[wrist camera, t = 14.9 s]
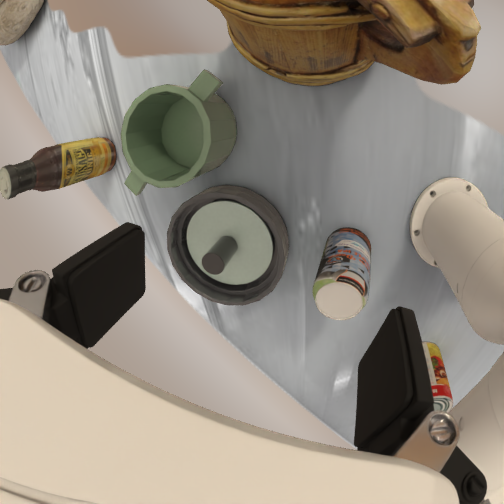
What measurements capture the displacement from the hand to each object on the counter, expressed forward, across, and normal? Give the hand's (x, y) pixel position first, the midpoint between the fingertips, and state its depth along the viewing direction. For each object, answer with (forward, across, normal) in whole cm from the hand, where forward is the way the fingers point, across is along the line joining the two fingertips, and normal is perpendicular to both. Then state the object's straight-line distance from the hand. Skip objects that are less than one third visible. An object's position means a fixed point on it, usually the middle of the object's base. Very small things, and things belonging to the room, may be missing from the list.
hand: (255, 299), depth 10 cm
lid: (+26, +9, +13) cm, 30 cm away
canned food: (+28, -28, +24) cm, 46 cm away
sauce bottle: (+27, +32, +4) cm, 43 cm away
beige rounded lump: (+27, +66, -30) cm, 77 cm away
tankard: (+28, +3, -18) cm, 33 cm away
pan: (+28, +9, +13) cm, 31 cm away
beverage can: (+28, -6, +9) cm, 30 cm away
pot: (+27, +16, -2) cm, 32 cm away
